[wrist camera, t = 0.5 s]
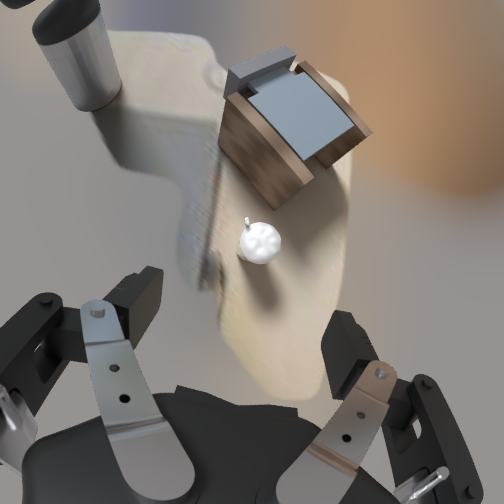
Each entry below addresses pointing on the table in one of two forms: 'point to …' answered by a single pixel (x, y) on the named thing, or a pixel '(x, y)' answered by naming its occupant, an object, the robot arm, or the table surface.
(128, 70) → the table surface
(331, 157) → the stand
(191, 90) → the table surface
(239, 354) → the table surface
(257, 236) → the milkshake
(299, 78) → the trapdoor
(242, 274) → the table surface
